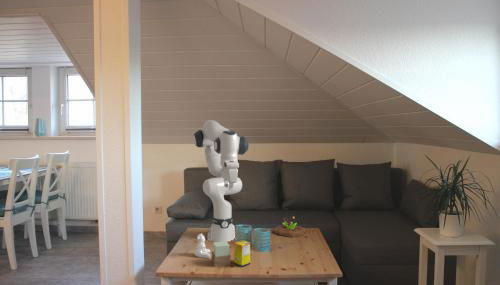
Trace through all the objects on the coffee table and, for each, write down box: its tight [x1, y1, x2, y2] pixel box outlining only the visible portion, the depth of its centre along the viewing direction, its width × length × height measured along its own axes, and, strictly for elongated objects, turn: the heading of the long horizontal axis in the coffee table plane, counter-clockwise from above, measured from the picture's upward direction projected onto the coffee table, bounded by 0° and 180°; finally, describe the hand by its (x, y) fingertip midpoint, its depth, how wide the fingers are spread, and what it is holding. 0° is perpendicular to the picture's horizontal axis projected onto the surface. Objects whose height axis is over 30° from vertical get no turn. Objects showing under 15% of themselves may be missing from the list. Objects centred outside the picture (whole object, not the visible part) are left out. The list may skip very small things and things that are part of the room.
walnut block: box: [211, 251, 232, 267], centre depth 182 cm, size 8×8×5 cm
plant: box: [273, 215, 307, 238], centre depth 238 cm, size 20×20×11 cm
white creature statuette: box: [193, 233, 211, 259], centre depth 192 cm, size 10×9×12 cm
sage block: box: [212, 241, 230, 257], centre depth 182 cm, size 7×7×5 cm
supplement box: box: [233, 239, 251, 268], centre depth 181 cm, size 6×6×11 cm
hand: (228, 188), depth 186 cm, fingers open, 8 cm apart
